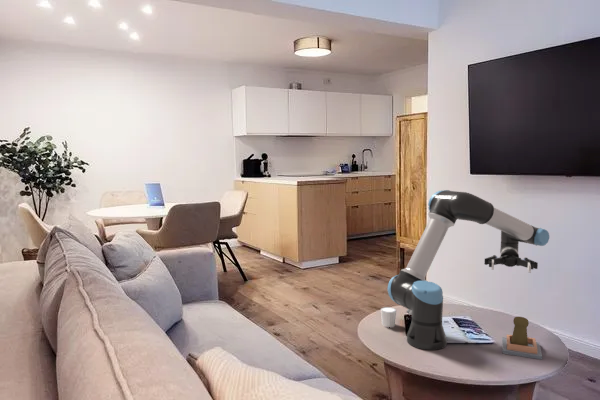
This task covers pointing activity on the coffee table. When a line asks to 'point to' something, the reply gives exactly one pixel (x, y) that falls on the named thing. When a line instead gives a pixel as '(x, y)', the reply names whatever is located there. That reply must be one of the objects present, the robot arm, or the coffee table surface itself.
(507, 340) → the pallet plate
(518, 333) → the cork
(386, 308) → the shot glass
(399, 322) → the coffee table surface
